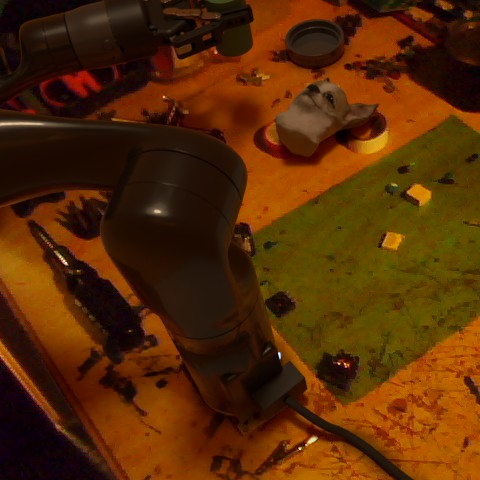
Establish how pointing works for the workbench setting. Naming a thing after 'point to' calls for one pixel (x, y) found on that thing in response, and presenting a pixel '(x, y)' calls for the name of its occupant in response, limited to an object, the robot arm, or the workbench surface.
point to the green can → (232, 30)
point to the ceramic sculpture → (318, 117)
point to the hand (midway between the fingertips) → (246, 0)
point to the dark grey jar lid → (315, 43)
